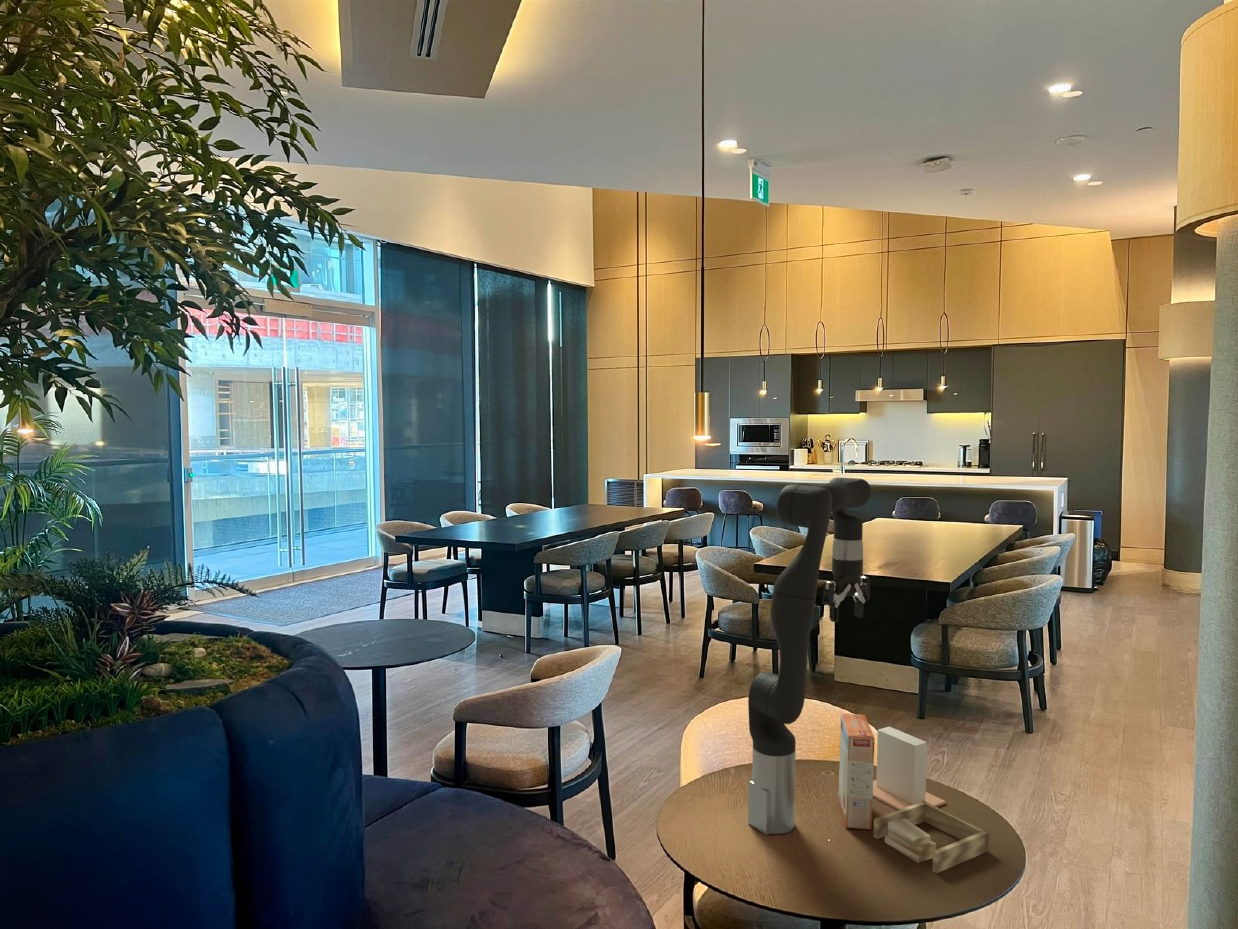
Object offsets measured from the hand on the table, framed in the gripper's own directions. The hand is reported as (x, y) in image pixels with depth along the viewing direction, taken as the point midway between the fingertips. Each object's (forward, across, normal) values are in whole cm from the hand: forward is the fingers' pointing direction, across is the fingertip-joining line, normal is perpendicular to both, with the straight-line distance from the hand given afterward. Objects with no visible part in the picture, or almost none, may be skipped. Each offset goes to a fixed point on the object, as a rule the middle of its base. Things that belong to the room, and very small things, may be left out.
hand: (846, 619), depth 207 cm
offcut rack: (+38, +13, +37) cm, 55 cm away
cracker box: (+38, +17, +20) cm, 46 cm away
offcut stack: (+38, +18, +36) cm, 56 cm away
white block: (+38, +1, +19) cm, 42 cm away
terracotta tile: (+38, +1, +19) cm, 43 cm away
